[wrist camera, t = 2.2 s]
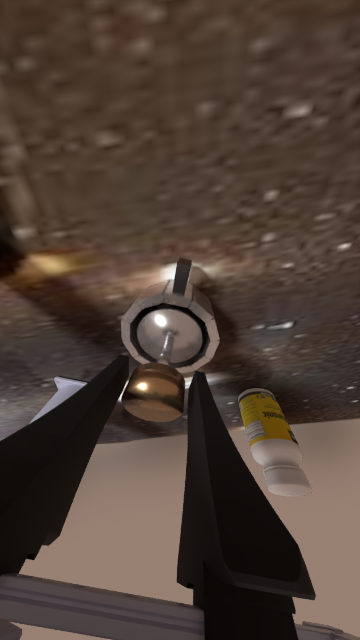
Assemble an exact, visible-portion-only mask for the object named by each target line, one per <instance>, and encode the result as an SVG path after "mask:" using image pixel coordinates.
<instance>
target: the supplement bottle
mask: <svg viewBox="0 0 360 640" xmlns="http://www.w3.org/2000/svg"><path fill="white" fill-rule="evenodd" d="M238 403H239V407H240V411H241V415H242V419H243V423H244V426H245V430H246V434H247V438H248V442H249V446H250V450H251V453H252V456H253V458H254V459H255V460H256V461H257V462H258V463H259V464H260V465H262V466H263V467H264V470H263V473H264V477H265V481H266V484H267V488H268V490H269V491H270V492H271V493H274V494H277V495H281V496H289V497H291V496H292V497H299V496H306V495H309V494H310V493H312V488H311V487H310V484H309V482H308V480H307V477H306V475H305V473H304V471H303V470H302V469H301V468H299V466H298V464H299V463H301V461H302V452H301V449H300V447H299V445H298V443H297V441H296V439H295V437H294V435H293V433H292V431H291V429H290V427H289V425H288V423H287V421H286V419H285V417H284V414H283V412H282V410H281V408H280V406H279V404H278V402H277V400H276V398H275V397H274V395H273V394H272V393H271V392H270V391H268V390H266V389H262V388H251V389H248V390H245V391H244V392H242V393H241V394H240V395H239V397H238Z"/></svg>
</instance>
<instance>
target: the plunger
mask: <svg viewBox="0 0 360 640" xmlns="http://www.w3.org/2000/svg"><path fill="white" fill-rule="evenodd" d="M137 338H138V341H139V344H140V345H141V347H142V348H143V350H144V351H145V352H146V353H147V354H149V355H150V356H152V357H153V358H155V359H157V363H146V364H142V365H140V366H138V367H137V368H136V369H135V370H134V371H133V373H132V375H131V378H130V380H129V382H128V384H127V386H126V389H125V391H124V393H123V395H122V399H121V400H122V404H123V406H124V407H125V409H126V410H127V411H129V412H130V413H131V414H133V415H135V416H137V417H139V418H141V419H144V420H148V421H153V422H168V421H172V420H175V419H177V418H178V417H180V416H181V415H182V413H183V407H184V393H185V380H184V378H183V376H182V375H181V373H180V372H179V371H177V370H176V369H174V368H173V367H171V366H169V365H170V363H177V362H182V361H186V360H188V359H190V358H192V357H193V356H194V355H196V354H197V352H198V351H199V350H200V348H201V345H202V331H201V328H200V325H199V324H198V322H197V321H196V320H195V318H193V317H192V316H191V315H190V314H188V313H187V312H185V311H183V310H180V309H177V308H171V307H163V308H158V309H155V310H152V311H151V312H149V313H148V314H146V315H145V316H144V317H143V319H142V320H141V322H140V324H139V326H138V329H137Z"/></svg>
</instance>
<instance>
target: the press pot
mask: <svg viewBox="0 0 360 640" xmlns="http://www.w3.org/2000/svg"><path fill="white" fill-rule="evenodd" d="M191 262H192V260H187V259H183V258H180V260H179V261H178V263H177V267H176V273H175V279H174V280H172V279H171V281H170V280H166V281H163V282H160V283H157V284H154V285H151V286H149V287H148V288H147V289H146V290H145V291H144V292H143V293H142V295H141V296H140V297H139V298H138V299H137V300H136V301H135V302H134V304H133V305H132V306H131V307H130V309H129V310H128V311H127V313H126V314H125V315H124V317H123V318H122V320H121V332H122V340H123V341H122V342H123V343H124V345H125V346H126V348H127V349H128V351H129V352H130V354H131V355H132V357H135V358H134V359H136V360H137V361H139V362H141V363H142V364H146V363H157V359H155V358H153V357H152V356H150V355H149V354H147V353H146V352H145V351H144V350H143V348H142V347H141V345H140V344H139V341H138V338H137V329H138V326H139V324H140V322H141V320H142V319H143V311H144V308H147V307H151V306H154V305H158V304H161V303H167V304H172V305H176V306H181V307H186V308H188V309H190V310H191V311H192V312H193V313H194V314H196V315H197V316H198V317H199V318H200V319H201V320H203V321H204V322H205V323H206V325H205V327H204V330H203V333H202V345H201V348H200V350H199V351H198V352H197V354H196V355H194V356H193V357H192V358H190V359H188V360H186V361H182V362H177V363H170V365H169V366H171V367H173V368H174V369H176V370H177V371H179V372H180V373H184V372H191V371H194V370H197V369H198V368H200V367H201V366H203V365H204V364H206V363H207V362H209V361H210V360H211V359H212V358H213V356H214V353H215V351H216V349H217V347H218V344H219V342H220V341H219V340H220V339H219V334H218V330H217V326H216V321H215V317H214V313H213V309H212V305H211V301H210V300H209V298H208V297H207V296H206V295H205V294H203V293H202V292H201V291H200V290H199V289H198V288H197V287H196V286H195V285H194V286H193V287H192V284H190V283H187V281H188V277H189V272H190V268H191Z"/></svg>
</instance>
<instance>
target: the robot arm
mask: <svg viewBox="0 0 360 640" xmlns="http://www.w3.org/2000/svg"><path fill="white" fill-rule="evenodd" d="M128 376H129V357H127V356H122V355H119V356H118V357H117V358H116V359H115V360H114V361H113V362H112V363H111V364H109V365H108V366H107V367H106V368H105V369H104V370H103V371H102V372H100V373H99V374H98V375H97V376H96V377H95V378H93V379H92V380H91V381H90V382H89V383H86V382H81V381H77V380H72V379H67V378H62V377H56V378H55V379H54V380H55V382H56V385H57V387H58V389H59V390H58V392H57V393H56V394H55V395H54V396H53V397H52V398H51V399H50V401H49V402H48V403H47V404H46V405H45V406H44V407H43V408H42V410H41V411H40V412H39V413H38V414H37V415H36V416H35V418H34V419H33V420H32V421H31V422H30V423H29V424H28V425H27V426H25V427H23V428H22V429H20V430H18V431H17V432H15V433H13V434H12V435H10V436H8V437H7V438H5V439H3V440H1V441H0V640H19V639H20V637H21V635H22V629H21V628H19V627H17V626H16V625H14V624H12V623H10V622H15V623H20V624H26V625H32V626H38V627H43V628H49V629H55V630H61V631H67V632H73V633H78V634H84V635H89V636H95V637H101V638H107V639H112V640H360V638H359V637H356V636H354V635H351V634H348V633H344V632H343V631H342V630H340V629H337V628H334V627H331V626H328V625H322V624H317V623H311V622H306V621H303V622H302V625H300V624H294V620H293V616H292V613H293V614H295V611H296V610H295V606H294V603H293V599H292V597H298V598H303V599H309V600H315V597H316V595H315V592H314V589H313V586H312V583H311V580H310V577H309V573H308V571H307V568H306V565H305V562H304V559H303V557H302V554H301V552H300V549H299V546H298V544H297V543H296V541H295V540H294V538H293V537H292V536H291V534H290V533H289V531H288V530H287V528H286V527H285V525H284V524H283V523H282V521H281V520H280V518H279V517H278V515H277V514H276V512H275V511H274V509H273V508H272V506H271V504H270V503H269V501H268V500H267V499H266V497H265V495H264V494H263V492H262V490H261V489H260V487H259V486H258V484H257V483H256V481H255V479H254V477H253V476H252V474H251V472H250V471H249V469H248V467H247V466H246V464H245V462H244V461H243V459H242V457H241V455H240V454H239V452H238V450H237V448H236V446H235V444H234V443H233V441H232V439H231V437H230V435H229V433H228V431H227V429H226V427H225V424H224V422H223V420H222V418H221V416H220V413H219V411H218V409H217V406H216V404H215V401H214V399H213V396H212V394H211V391H210V388H209V385H208V382H207V379H206V376H205V373H203V372H198V371H195V374H194V376H193V379H192V382H191V384H190V387H189V393H188V452H187V466H186V479H185V492H184V503H183V514H182V525H181V535H180V545H179V554H178V565H177V583H179V584H181V585H182V586H184V587H186V588H190V589H193V605H189V604H183V603H177V602H172V601H166V600H161V599H155V598H150V597H144V596H139V595H133V594H128V593H122V592H117V591H110V590H105V589H100V588H94V587H89V586H83V585H78V584H72V583H66V582H61V581H56V580H50V579H44V578H39V577H33V576H27V575H22V574H18V573H19V571H20V570H21V568H22V566H23V564H24V562H25V560H26V559H31V560H34V559H35V558H36V556H37V554H38V552H39V550H40V548H41V546H42V545H50V544H51V543H52V542H53V541H55V539H57V538H58V537H59V536H60V533H61V531H62V528H63V525H64V523H65V520H66V517H67V515H68V512H69V510H70V507H71V504H72V502H73V499H74V497H75V493H76V491H77V489H78V487H79V484H80V482H81V479H82V477H83V474H84V472H85V469H86V467H87V465H88V462H89V459H90V457H91V455H92V452H93V450H94V448H95V445H96V443H97V441H98V439H99V436H100V434H101V432H102V430H103V428H104V426H105V424H106V422H107V420H108V418H109V416H110V414H111V412H112V410H113V408H114V406H115V405H116V403H117V401H118V399H119V397H120V395H121V393H122V391H123V389H124V386H125V384H126V381H127V379H128ZM8 621H9V622H8Z"/></svg>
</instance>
